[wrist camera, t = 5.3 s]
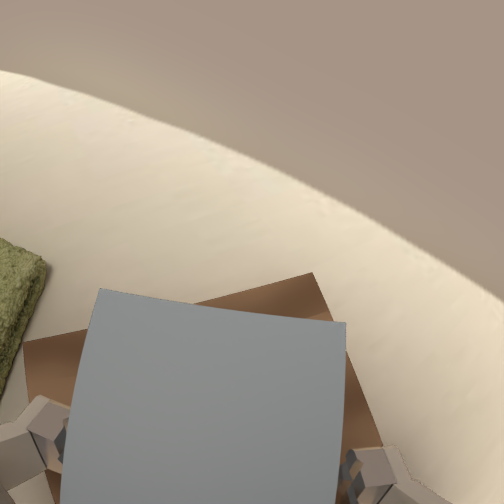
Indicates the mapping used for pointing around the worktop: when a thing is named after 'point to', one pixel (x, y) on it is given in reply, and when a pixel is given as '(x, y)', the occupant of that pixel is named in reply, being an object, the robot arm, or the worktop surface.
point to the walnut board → (254, 300)
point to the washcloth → (16, 298)
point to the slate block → (204, 406)
